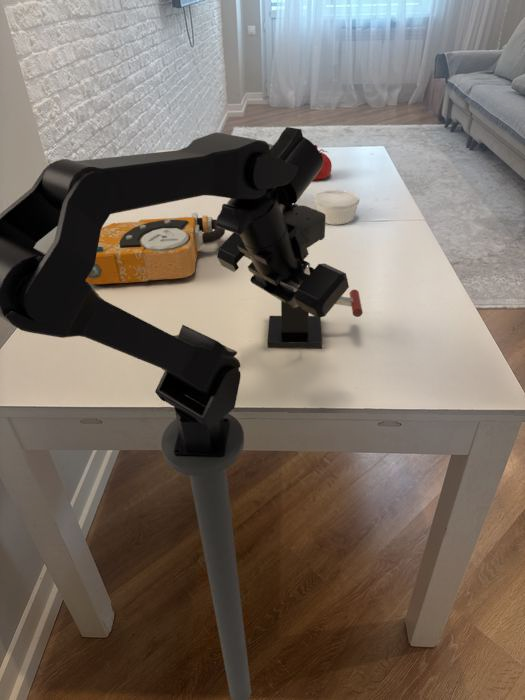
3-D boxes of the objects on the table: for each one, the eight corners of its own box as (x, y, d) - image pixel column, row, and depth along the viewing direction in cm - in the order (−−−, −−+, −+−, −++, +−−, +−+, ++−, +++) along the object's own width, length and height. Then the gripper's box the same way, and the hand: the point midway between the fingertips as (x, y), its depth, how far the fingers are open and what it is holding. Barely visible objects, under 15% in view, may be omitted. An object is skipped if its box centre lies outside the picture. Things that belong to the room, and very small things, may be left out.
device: (91, 209, 111) (223, 202, 112) (100, 243, 116) (226, 236, 117) (65, 254, 93) (223, 245, 94) (77, 291, 98) (226, 283, 99)
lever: (356, 300, 83) (360, 287, 81) (360, 319, 78) (364, 307, 77) (285, 289, 82) (288, 277, 81) (285, 308, 78) (287, 296, 76)
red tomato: (310, 184, 144) (311, 152, 139) (293, 175, 152) (293, 144, 146) (338, 178, 148) (340, 146, 142) (320, 170, 155) (321, 139, 149)
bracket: (320, 321, 87) (322, 272, 81) (321, 348, 81) (324, 297, 75) (269, 321, 88) (268, 272, 82) (267, 348, 81) (265, 297, 75)
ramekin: (354, 209, 128) (356, 189, 125) (360, 226, 119) (362, 205, 116) (311, 210, 129) (312, 190, 126) (314, 227, 120) (314, 206, 117)
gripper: (367, 209, 56) (379, 290, 68) (251, 166, 65) (280, 244, 78) (307, 278, 53) (331, 349, 66) (196, 223, 63) (235, 294, 76)
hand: (293, 304), depth 72 cm, fingers closed
